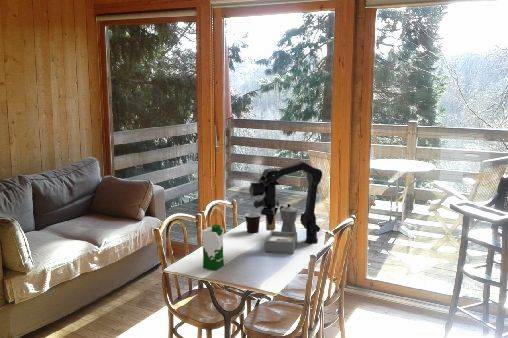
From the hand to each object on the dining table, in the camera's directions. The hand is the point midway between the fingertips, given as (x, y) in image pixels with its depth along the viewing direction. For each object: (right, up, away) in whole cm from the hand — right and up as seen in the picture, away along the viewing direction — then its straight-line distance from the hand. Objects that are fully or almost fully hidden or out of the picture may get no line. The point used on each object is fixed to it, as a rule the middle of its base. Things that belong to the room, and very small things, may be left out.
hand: (270, 223), depth 244 cm
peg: (0, -3, +1) cm, 3 cm away
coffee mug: (-9, -8, +25) cm, 28 cm away
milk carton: (-27, -18, -23) cm, 40 cm away
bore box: (+6, -12, +1) cm, 14 cm away
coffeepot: (+10, -9, +21) cm, 25 cm away
